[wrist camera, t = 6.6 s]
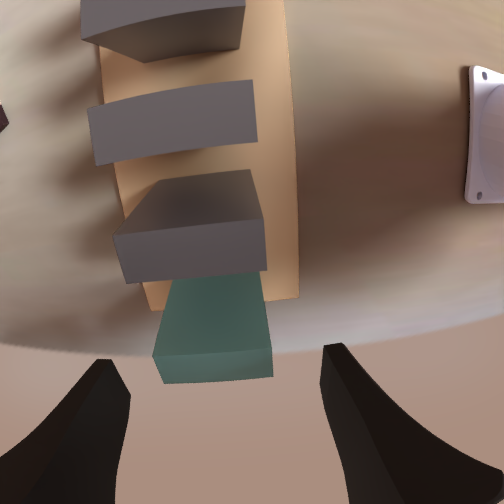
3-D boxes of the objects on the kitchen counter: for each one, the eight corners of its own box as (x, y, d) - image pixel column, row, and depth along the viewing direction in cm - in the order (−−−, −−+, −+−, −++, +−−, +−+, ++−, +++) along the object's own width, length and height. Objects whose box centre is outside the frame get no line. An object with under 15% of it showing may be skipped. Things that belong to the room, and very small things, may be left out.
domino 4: (176, 267, 15) (152, 356, 10) (257, 259, 15) (271, 347, 10) (182, 292, 16) (164, 383, 10) (259, 285, 16) (273, 376, 10)
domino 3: (159, 180, 13) (112, 235, 8) (250, 169, 13) (263, 218, 8) (164, 211, 14) (126, 283, 8) (252, 201, 14) (267, 270, 8)
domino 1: (141, 32, 10) (80, -9, 5) (236, 17, 10) (240, -43, 5) (143, 63, 11) (80, 39, 5) (239, 49, 11) (245, 6, 5)
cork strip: (275, -46, 9) (276, -49, 8) (297, 293, 17) (298, 297, 16) (101, -18, 8) (98, -20, 8) (152, 306, 16) (151, 311, 16)
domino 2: (148, 104, 11) (86, 109, 6) (243, 91, 11) (252, 79, 6) (152, 138, 12) (96, 166, 7) (246, 125, 12) (258, 142, 7)
